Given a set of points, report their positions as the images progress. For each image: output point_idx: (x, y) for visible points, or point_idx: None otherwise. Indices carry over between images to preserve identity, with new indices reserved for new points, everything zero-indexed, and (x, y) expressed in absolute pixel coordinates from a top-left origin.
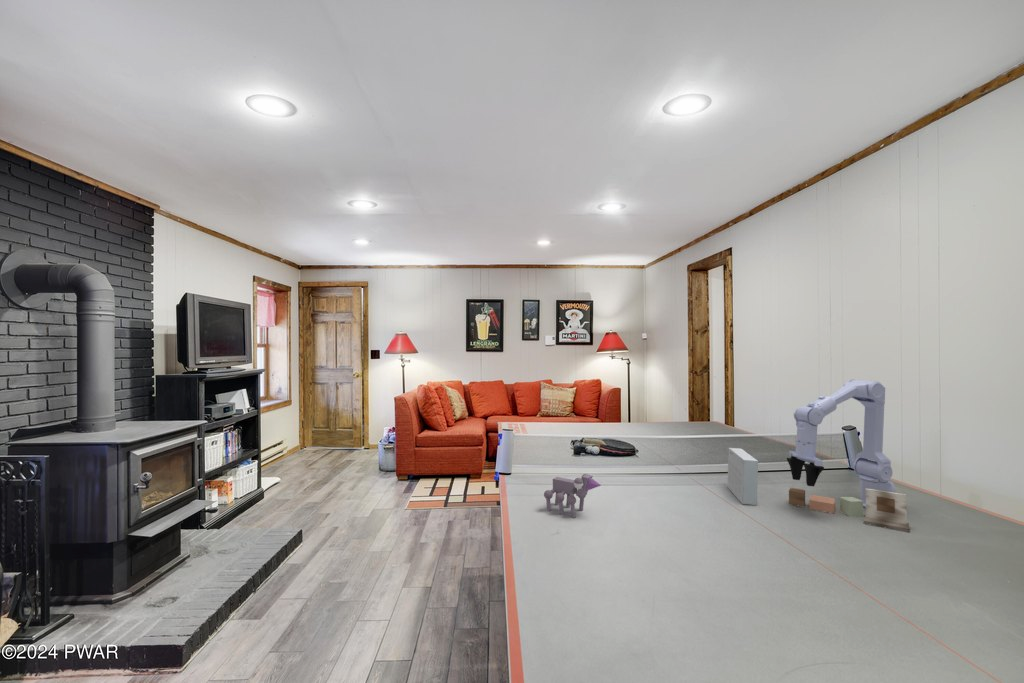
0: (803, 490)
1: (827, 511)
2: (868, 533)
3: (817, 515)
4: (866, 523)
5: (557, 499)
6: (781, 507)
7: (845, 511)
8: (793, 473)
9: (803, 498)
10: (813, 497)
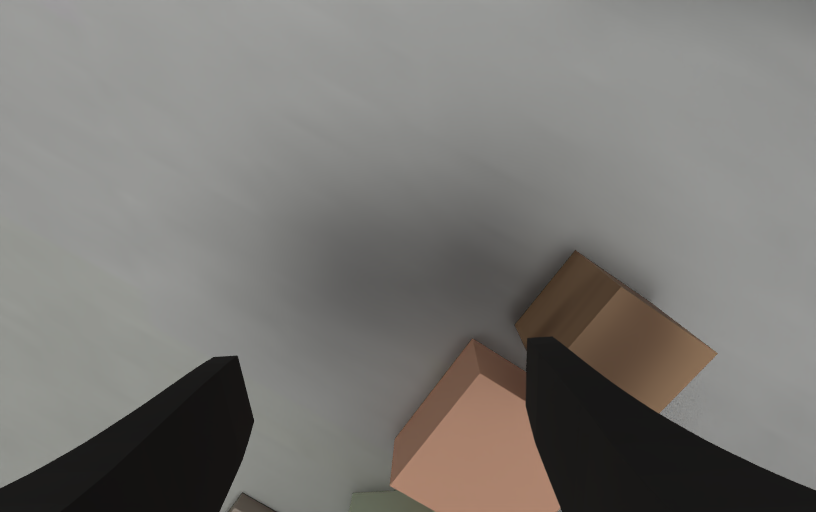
0: None
1: (414, 418)
2: (95, 432)
3: (354, 325)
4: (234, 505)
5: None
6: (512, 158)
7: (385, 505)
8: (557, 383)
9: None
10: None
